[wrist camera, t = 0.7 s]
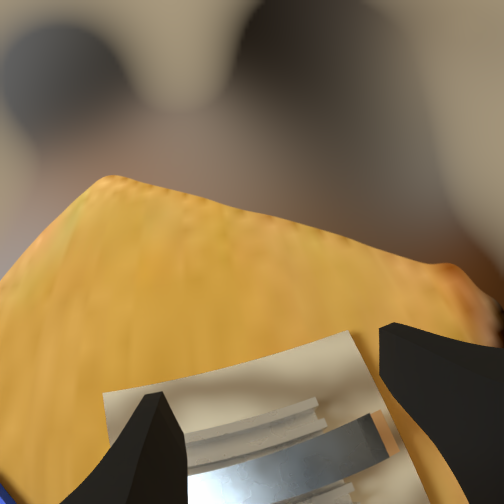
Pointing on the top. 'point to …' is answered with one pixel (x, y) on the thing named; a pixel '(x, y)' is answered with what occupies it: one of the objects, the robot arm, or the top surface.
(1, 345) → the top surface
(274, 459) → the retention strap
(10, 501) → the bracket
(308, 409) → the heat sink
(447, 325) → the top surface
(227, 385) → the board
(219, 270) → the top surface
